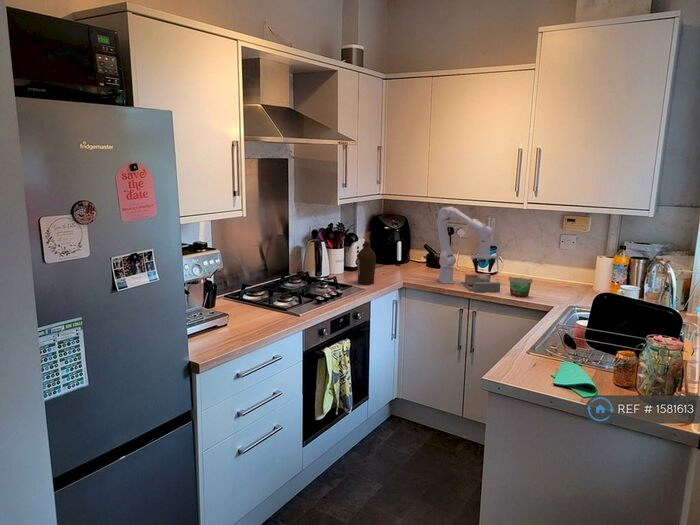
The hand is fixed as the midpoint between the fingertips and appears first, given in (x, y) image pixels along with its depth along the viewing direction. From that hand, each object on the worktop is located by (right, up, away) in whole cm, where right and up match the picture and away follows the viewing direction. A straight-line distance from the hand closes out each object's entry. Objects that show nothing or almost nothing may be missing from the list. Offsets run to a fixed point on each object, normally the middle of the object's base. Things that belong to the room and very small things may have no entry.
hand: (482, 272), depth 285 cm
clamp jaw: (-1, -8, +9) cm, 12 cm away
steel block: (0, -9, +2) cm, 10 cm away
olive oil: (-65, -7, +9) cm, 66 cm away
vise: (0, -9, +3) cm, 9 cm away
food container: (+16, -13, -13) cm, 24 cm away
